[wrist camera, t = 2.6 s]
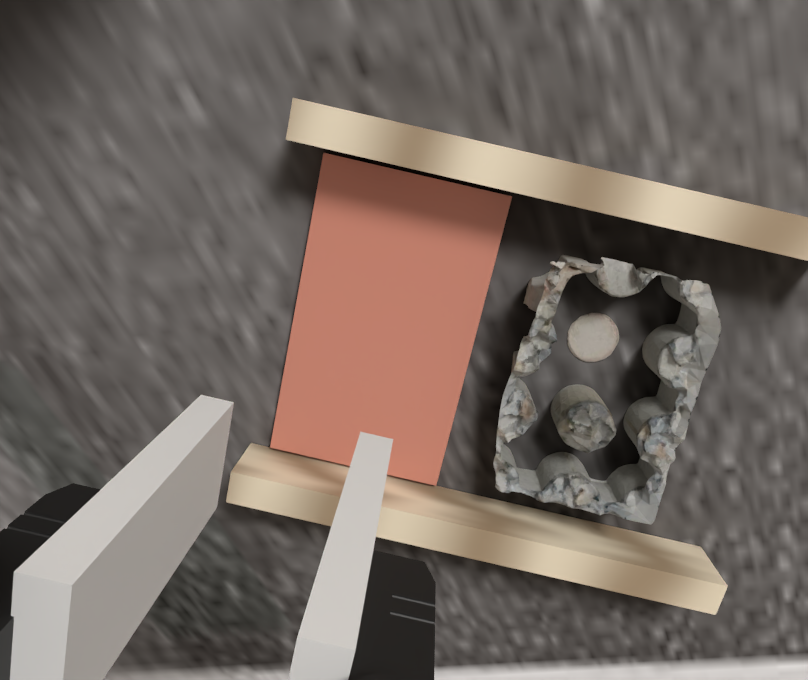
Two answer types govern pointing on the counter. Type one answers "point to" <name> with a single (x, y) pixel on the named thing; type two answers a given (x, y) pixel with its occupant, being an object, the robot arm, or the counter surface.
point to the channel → (485, 517)
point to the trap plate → (386, 314)
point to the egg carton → (586, 412)
